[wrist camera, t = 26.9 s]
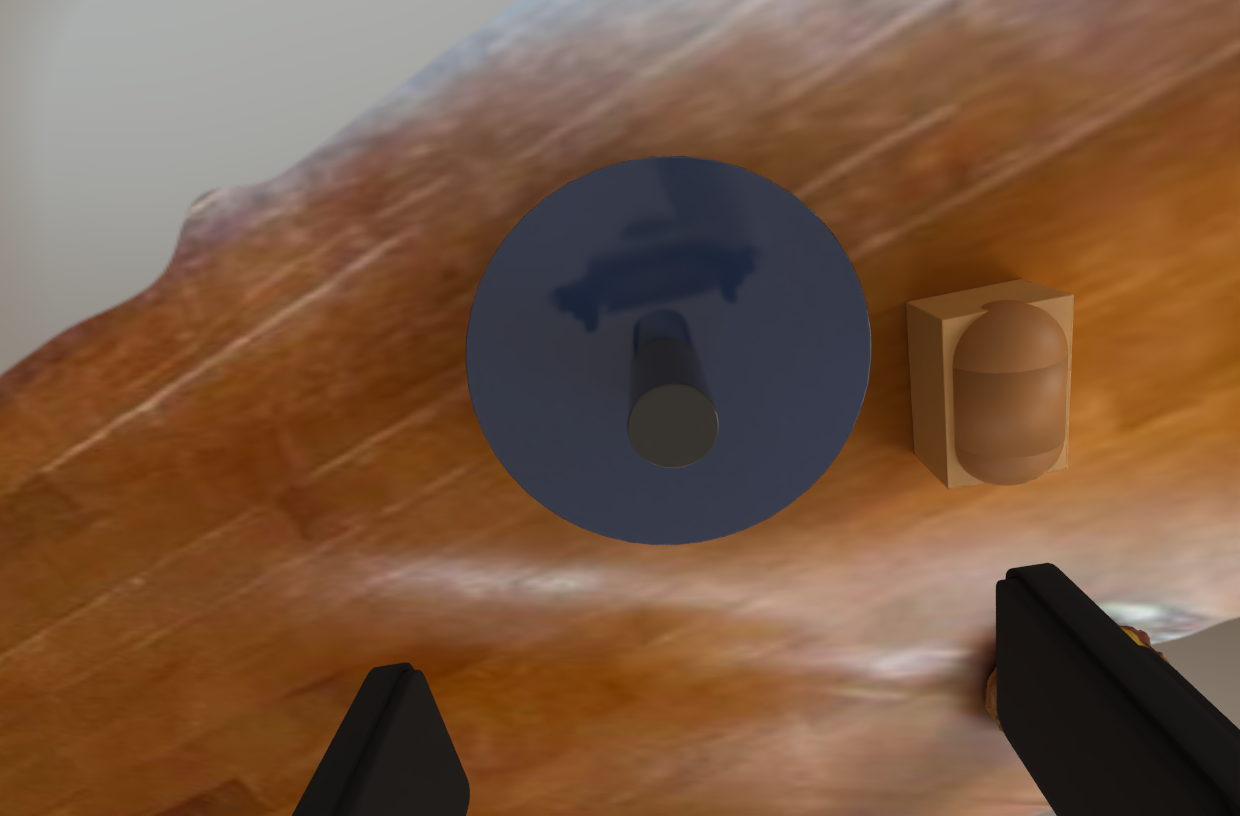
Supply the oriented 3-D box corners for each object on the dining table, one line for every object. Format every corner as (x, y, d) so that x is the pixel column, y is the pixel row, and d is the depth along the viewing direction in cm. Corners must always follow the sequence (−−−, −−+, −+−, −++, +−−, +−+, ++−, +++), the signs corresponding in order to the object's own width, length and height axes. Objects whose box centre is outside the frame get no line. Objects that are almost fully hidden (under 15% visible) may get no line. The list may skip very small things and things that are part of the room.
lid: (843, 110, 23) (923, 87, 17) (875, 498, 29) (944, 595, 22) (420, 209, 25) (342, 224, 18) (529, 557, 31) (500, 662, 24)
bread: (905, 298, 31) (963, 327, 25) (1021, 275, 30) (1107, 299, 25) (913, 456, 34) (968, 513, 28) (1019, 438, 33) (1096, 492, 28)
